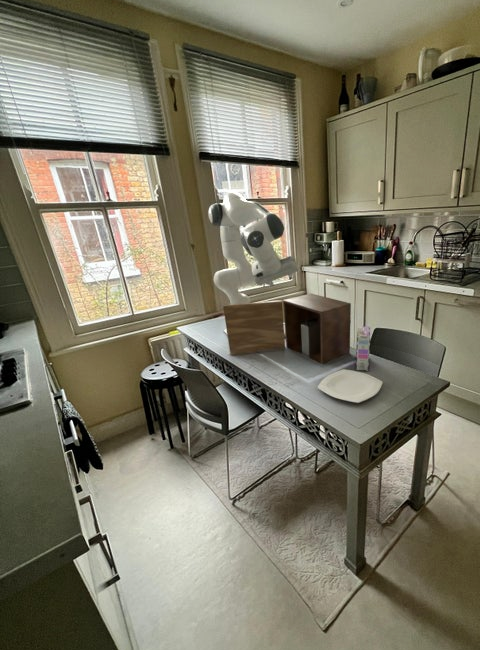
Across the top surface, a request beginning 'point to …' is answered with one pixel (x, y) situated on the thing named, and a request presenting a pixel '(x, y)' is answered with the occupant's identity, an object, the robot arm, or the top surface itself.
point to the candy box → (363, 348)
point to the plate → (350, 386)
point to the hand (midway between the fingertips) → (281, 281)
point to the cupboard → (332, 325)
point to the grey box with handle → (311, 337)
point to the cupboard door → (254, 327)
